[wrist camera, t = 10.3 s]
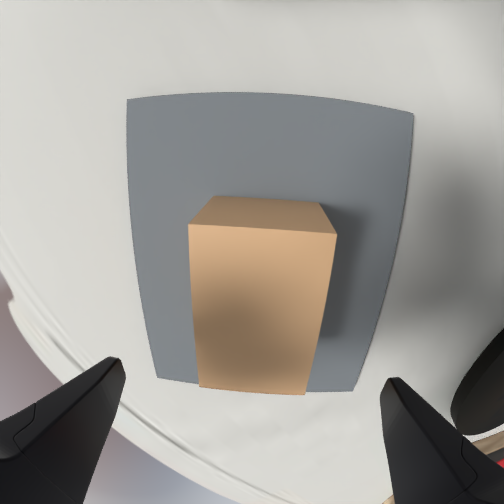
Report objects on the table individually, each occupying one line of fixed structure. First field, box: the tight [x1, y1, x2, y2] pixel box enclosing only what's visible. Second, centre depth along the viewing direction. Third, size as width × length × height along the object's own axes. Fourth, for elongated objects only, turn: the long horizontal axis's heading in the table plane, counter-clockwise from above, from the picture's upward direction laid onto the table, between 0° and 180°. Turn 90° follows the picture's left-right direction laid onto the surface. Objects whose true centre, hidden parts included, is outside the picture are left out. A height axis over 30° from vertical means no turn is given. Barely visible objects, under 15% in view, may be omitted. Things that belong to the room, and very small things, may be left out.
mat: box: [127, 92, 413, 392], centre depth 16 cm, size 18×14×1 cm
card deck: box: [188, 196, 337, 395], centre depth 13 cm, size 5×8×4 cm, turn 178°
